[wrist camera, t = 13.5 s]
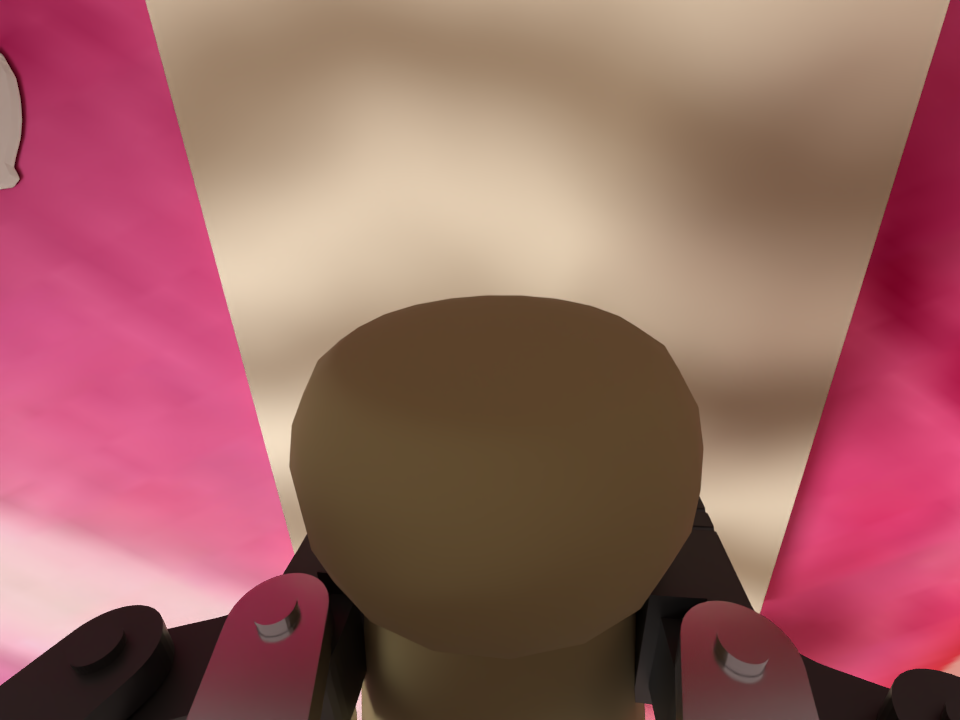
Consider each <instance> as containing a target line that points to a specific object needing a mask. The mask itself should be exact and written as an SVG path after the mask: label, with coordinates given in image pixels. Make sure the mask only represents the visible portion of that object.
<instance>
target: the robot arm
mask: <svg viewBox="0 0 960 720" xmlns="http://www.w3.org/2000/svg"><path fill="white" fill-rule="evenodd" d="M366 672H367V668H366V654H365V640H364V614H363V613H362V612H361V611H360V610H359V609H358V607H357V606H356V605H355V604H354V603H353V602H352V601H351V600H350V599H349V598H348V597H347V596H346V595H345V593H344V592H343V591H342V590H341V589H340V588H339V587H338V586H337V585H336V584H335V583H334V581H333V580H332V579H331V577H330V576H329V574H328V573H327V571H326V570H325V569H324V567H323V566H322V564H321V563H320V561H319V560H318V558H317V557H316V556H315V554H314V553H313V551H312V550H311V546H310V543H309V539H308V535H306V536H305V538H304V540H303V541H302V543H301V545H300V547H299V548H298V550H297V552H296V553H295V555H294V557H293V558H292V560H291V562H290V563H289V565H288V567H287V569H286V570H285V572H284V574H283V575H280V576H276V577H273V578H271V579H269V580H266V581H264V582H262V583H261V584H259V585H257V586H256V587H254V588H253V589H252V590H250V591H249V592H247V593H246V594H245V595H244V596H243V597H242V598H241V599H240V600H239V601H238V602H237V603H236V605H235V606H234V607H233V609H232V610H231V612H230V613H229V615H226V616H222V617H219V618H215V619H210V620H206V621H201V622H197V623H192V624H188V625H183V626H179V627H175V628H170V629H167V627H166V625H165V623H164V621H163V619H162V617H161V615H160V613H159V612H158V611H156V610H155V609H154V608H151V607H149V606H143V605H133V606H126V607H122V608H118V609H114V610H112V611H109V612H106V613H104V614H102V615H100V616H98V617H96V618H93V619H92V620H90V621H88V622H87V623H85V624H83V625H82V626H80V627H79V628H77V629H76V630H74V631H73V632H72V633H70V634H69V635H68V636H66V637H65V638H64V639H62V640H61V641H60V642H58V643H57V644H56V645H54V646H53V647H52V648H50V649H49V650H48V651H46V652H45V653H43V654H42V655H41V656H39V657H38V658H37V659H35V660H34V661H33V662H31V663H30V664H29V665H27V666H26V667H25V668H23V669H22V670H21V671H19V672H18V673H17V674H15V675H14V676H13V677H11V678H10V679H9V680H7V681H6V682H5V683H3V684H2V685H1V686H0V720H357V712H356V707H355V706H356V703H357V700H358V697H359V694H360V691H361V688H362V684H363V681H364V678H365V675H366ZM634 691H635V703H646V704H652V705H653V710H654V715H655V719H656V720H960V677H957V676H955V675H952V674H949V673H945V672H941V671H937V670H931V669H913V670H908V671H906V672H904V673H902V674H900V675H899V676H898V677H897V678H896V679H895V681H894V682H893V684H892V686H891V688H890V689H889V688H886V687H883V686H880V685H878V684H875V683H872V682H869V681H866V680H864V679H861V678H858V677H855V676H852V675H849V674H847V673H844V672H841V671H838V670H835V669H832V668H830V667H827V666H824V665H822V664H820V663H817V662H815V661H813V660H811V659H809V658H807V657H805V656H803V655H801V654H800V653H799V652H798V650H797V648H796V647H795V646H794V644H793V643H792V642H791V640H790V639H789V638H788V637H787V636H786V635H785V634H784V632H783V631H782V630H781V629H779V628H778V627H777V626H776V625H775V624H774V623H772V622H771V621H770V620H768V619H767V618H765V617H764V616H762V615H761V614H759V613H757V612H755V611H754V609H753V607H752V605H751V603H750V601H749V599H748V597H747V595H746V593H745V591H744V589H743V586H742V584H741V582H740V580H739V578H738V576H737V574H736V572H735V570H734V568H733V565H732V563H731V561H730V559H729V557H728V555H727V553H726V551H725V549H724V547H723V544H722V542H721V540H720V538H719V536H718V534H717V532H716V531H714V526H713V523H712V521H711V519H710V517H709V515H708V513H706V512H705V507H704V505H703V502H702V500H701V498H700V496H699V500H698V504H697V509H696V513H695V518H694V523H693V527H692V532H691V534H690V535H689V537H688V538H687V540H686V542H685V543H684V545H683V546H682V548H681V549H680V551H679V553H678V554H677V556H676V557H675V559H674V561H673V562H672V564H671V565H670V567H669V568H668V570H667V571H666V573H665V574H664V576H663V577H662V578H661V580H660V581H659V583H658V584H657V586H656V587H655V589H654V590H653V591H652V593H651V594H650V596H649V597H648V599H647V600H646V601H645V603H644V604H643V606H642V607H641V609H640V610H638V611H637V612H636V646H635V687H634Z"/></svg>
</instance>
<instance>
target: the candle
mask: <svg viewBox="0 0 960 720" xmlns="http://www.w3.org/2000/svg"><path fill="white" fill-rule="evenodd" d="M21 128H22V111H21V99H20V94H19V89H18V84H17V80H16V77H15V75H14V74H13V72H12V70H11V68H10V67H9V65H8V63H7V61H6V60H5V58H4V56H3V55H2V54H1V53H0V189H6V188H12V187H14V186H15V185H16V183H17V182H18V181H19V176H18V174H17V172H16V170H15V168H14V164H15V159H16V154H17V151H18V147H19V143H20V139H21Z"/></svg>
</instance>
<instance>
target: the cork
mask: <svg viewBox="0 0 960 720" xmlns="http://www.w3.org/2000/svg"><path fill="white" fill-rule="evenodd" d="M703 449H704V448H703V440H702V431H701V423H700V414H699V407H698V405H697V403H696V401H695V399H694V397H693V395H692V394H691V392H690V390H689V388H688V386H687V384H686V382H685V380H684V378H683V376H682V374H681V372H680V371H679V369H678V367H677V365H676V364H675V362H674V360H673V359H672V357H671V355H670V354H669V352H668V350H667V349H666V347H665V345H663V344H662V343H660V342H659V341H657V340H656V339H654V338H653V337H651V336H650V335H648V334H647V333H646V332H644V331H643V330H641V329H640V328H638V327H637V326H635V325H633V324H632V323H630V322H628V321H627V320H625V319H623V318H622V317H620V316H618V315H615V314H612V313H610V312H607V311H604V310H602V309H599V308H596V307H593V306H591V305H586V304H581V303H576V302H571V301H566V300H561V299H555V298H545V297H534V296H523V295H484V296H472V297H461V298H449V299H444V300H439V301H433V302H428V303H422V304H417V305H413V306H410V307H406V308H403V309H400V310H397V311H393V312H390V313H387V314H384V315H382V316H380V317H378V318H376V319H374V320H372V321H370V322H368V323H366V324H364V325H362V326H360V327H358V328H357V329H355V330H354V331H352V332H351V333H349V334H348V335H347V336H345V337H344V338H342V339H341V340H340V341H338V342H337V343H336V344H335V345H334V346H333V347H332V348H331V349H330V350H329V351H327V352H326V353H325V354H324V355H323V356H322V357H321V358H320V359H319V360H318V361H317V363H316V365H315V368H314V370H313V372H312V374H311V377H310V379H309V381H308V384H307V386H306V388H305V390H304V393H303V395H302V398H301V401H300V403H299V406H298V409H297V412H296V414H295V417H294V420H293V423H292V427H291V444H290V461H289V468H290V472H291V476H292V480H293V483H294V487H295V491H296V495H297V498H298V502H299V506H300V510H301V513H302V517H303V521H304V524H305V528H306V532H307V535H308V539H309V543H310V546H311V550H312V551H313V553H314V554H315V556H316V557H317V558H318V560H319V561H320V563H321V564H322V566H323V567H324V569H325V570H326V571H327V573H328V574H329V576H330V577H331V579H332V580H333V581H334V583H335V584H336V585H337V586H338V587H339V588H340V589H341V590H342V591H343V592H344V593H345V595H346V596H347V597H348V598H349V599H350V600H351V601H352V602H353V603H354V604H355V605H356V606H357V607H358V609H359V610H360V611H361V612H362V613H363V614H364V640H365V654H366V668H367V672H366V675H365V678H364V681H363V684H362V720H645V706H644V703H635V691H634V687H635V646H636V612H637V611H638V610H640V609H641V607H642V606H643V604H644V603H645V601H646V600H647V599H648V597H649V596H650V594H651V593H652V591H653V590H654V589H655V587H656V586H657V584H658V583H659V581H660V580H661V578H662V577H663V576H664V574H665V573H666V571H667V570H668V568H669V567H670V565H671V564H672V562H673V561H674V559H675V557H676V556H677V554H678V553H679V551H680V549H681V548H682V546H683V545H684V543H685V542H686V540H687V538H688V537H689V535H690V534H691V532H692V527H693V523H694V518H695V513H696V509H697V504H698V500H699V495H700V491H701V478H702V464H703Z"/></svg>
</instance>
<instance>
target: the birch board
mask: <svg viewBox="0 0 960 720" xmlns="http://www.w3.org/2000/svg"><path fill="white" fill-rule="evenodd" d="M145 1H146V5H147V9H148V12H149V16H150V20H151V23H152V27H153V31H154V34H155V38H156V42H157V46H158V49H159V53H160V57H161V60H162V64H163V68H164V72H165V75H166V79H167V83H168V86H169V90H170V94H171V98H172V101H173V105H174V109H175V112H176V116H177V120H178V123H179V127H180V131H181V135H182V138H183V142H184V146H185V149H186V153H187V157H188V161H189V164H190V168H191V172H192V175H193V179H194V183H195V187H196V190H197V194H198V198H199V201H200V205H201V209H202V212H203V216H204V220H205V224H206V227H207V231H208V235H209V238H210V242H211V246H212V250H213V253H214V257H215V261H216V264H217V268H218V272H219V276H220V279H221V283H222V287H223V290H224V294H225V298H226V301H227V305H228V309H229V313H230V316H231V320H232V324H233V327H234V331H235V335H236V339H237V342H238V346H239V350H240V353H241V357H242V361H243V365H244V368H245V372H246V376H247V379H248V383H249V387H250V390H251V394H252V398H253V402H254V405H255V409H256V413H257V416H258V420H259V424H260V428H261V431H262V435H263V439H264V442H265V446H266V450H267V454H268V457H269V461H270V465H271V468H272V472H273V476H274V480H275V483H276V487H277V491H278V494H279V498H280V502H281V505H282V509H283V513H284V517H285V520H286V524H287V528H288V531H289V535H290V539H291V543H292V546H293V550H294V554H295V553H296V552H297V550H298V548H299V547H300V545H301V543H302V541H303V540H304V538H305V536H306V535H307V532H306V528H305V524H304V521H303V517H302V513H301V510H300V506H299V502H298V498H297V495H296V491H295V487H294V483H293V480H292V476H291V472H290V468H289V461H290V444H291V427H292V423H293V420H294V417H295V414H296V412H297V409H298V406H299V403H300V401H301V398H302V395H303V393H304V390H305V388H306V386H307V384H308V381H309V379H310V377H311V374H312V372H313V370H314V368H315V365H316V363H317V361H318V360H319V359H320V358H321V357H322V356H323V355H324V354H325V353H326V352H327V351H329V350H330V349H331V348H332V347H333V346H334V345H335V344H336V343H337V342H338V341H340V340H341V339H342V338H344V337H345V336H347V335H348V334H349V333H351V332H352V331H354V330H355V329H357V328H358V327H360V326H362V325H364V324H366V323H368V322H370V321H372V320H374V319H376V318H378V317H380V316H382V315H384V314H387V313H390V312H393V311H397V310H400V309H403V308H406V307H410V306H413V305H417V304H422V303H428V302H433V301H439V300H444V299H449V298H461V297H472V296H484V295H523V296H534V297H545V298H555V299H561V300H566V301H571V302H576V303H581V304H586V305H591V306H593V307H596V308H599V309H602V310H604V311H607V312H610V313H612V314H615V315H618V316H620V317H622V318H623V319H625V320H627V321H628V322H630V323H632V324H633V325H635V326H637V327H638V328H640V329H641V330H643V331H644V332H646V333H647V334H648V335H650V336H651V337H653V338H654V339H656V340H657V341H659V342H660V343H662V344H663V345H665V347H666V349H667V350H668V352H669V354H670V355H671V357H672V359H673V360H674V362H675V364H676V365H677V367H678V369H679V371H680V372H681V374H682V376H683V378H684V380H685V382H686V384H687V386H688V388H689V390H690V392H691V394H692V395H693V397H694V399H695V401H696V403H697V405H698V407H699V414H700V423H701V431H702V440H703V448H704V449H703V464H702V478H701V491H700V495H699V496H700V498H701V500H702V502H703V505H704V507H705V512H706V513H708V515H709V517H710V519H711V521H712V523H713V526H714V531H716V532H717V534H718V536H719V538H720V540H721V542H722V544H723V547H724V549H725V551H726V553H727V555H728V557H729V559H730V561H731V563H732V565H733V568H734V570H735V572H736V574H737V576H738V578H739V580H740V582H741V584H742V586H743V589H744V591H745V593H746V595H747V597H748V599H749V601H750V603H751V605H752V607H753V609H754V611H755V612H757V613H759V614H760V611H761V608H762V605H763V601H764V598H765V595H766V592H767V589H768V585H769V582H770V579H771V576H772V572H773V569H774V566H775V563H776V560H777V556H778V553H779V550H780V547H781V543H782V540H783V537H784V534H785V531H786V527H787V524H788V521H789V518H790V514H791V511H792V508H793V505H794V502H795V498H796V495H797V492H798V489H799V485H800V482H801V479H802V476H803V473H804V469H805V466H806V463H807V460H808V456H809V453H810V450H811V447H812V444H813V440H814V437H815V434H816V431H817V427H818V424H819V421H820V418H821V415H822V411H823V408H824V405H825V402H826V398H827V395H828V392H829V389H830V386H831V382H832V379H833V376H834V373H835V369H836V366H837V363H838V360H839V357H840V353H841V350H842V347H843V344H844V340H845V337H846V334H847V331H848V328H849V324H850V321H851V318H852V315H853V311H854V308H855V305H856V302H857V299H858V295H859V292H860V289H861V286H862V282H863V279H864V276H865V273H866V270H867V266H868V263H869V260H870V257H871V253H872V250H873V247H874V244H875V241H876V237H877V234H878V231H879V228H880V224H881V221H882V218H883V215H884V212H885V208H886V205H887V202H888V199H889V196H890V192H891V189H892V186H893V183H894V179H895V176H896V173H897V170H898V167H899V163H900V160H901V157H902V154H903V150H904V147H905V144H906V141H907V138H908V134H909V131H910V128H911V125H912V121H913V118H914V115H915V112H916V109H917V105H918V102H919V99H920V96H921V92H922V89H923V86H924V83H925V80H926V76H927V73H928V70H929V67H930V63H931V60H932V57H933V54H934V51H935V47H936V44H937V41H938V38H939V34H940V31H941V28H942V25H943V22H944V18H945V15H946V12H947V9H948V5H949V2H950V0H145Z"/></svg>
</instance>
